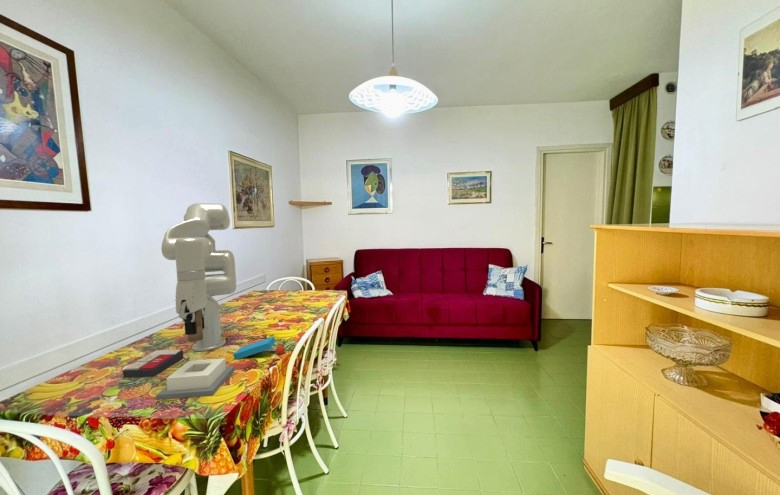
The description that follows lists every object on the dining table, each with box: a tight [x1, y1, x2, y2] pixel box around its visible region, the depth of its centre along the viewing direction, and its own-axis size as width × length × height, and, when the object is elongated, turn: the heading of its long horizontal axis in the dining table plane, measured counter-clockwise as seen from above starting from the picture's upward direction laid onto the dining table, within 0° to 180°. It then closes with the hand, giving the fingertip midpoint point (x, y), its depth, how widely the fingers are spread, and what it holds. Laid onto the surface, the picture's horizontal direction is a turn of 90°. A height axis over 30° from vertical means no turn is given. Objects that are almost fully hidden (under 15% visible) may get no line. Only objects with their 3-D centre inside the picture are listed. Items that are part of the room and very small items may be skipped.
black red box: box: [122, 349, 185, 379], centre depth 109 cm, size 11×4×15 cm
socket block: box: [155, 357, 235, 401], centre depth 95 cm, size 16×16×6 cm
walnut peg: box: [187, 309, 203, 343], centre depth 94 cm, size 4×4×10 cm
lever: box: [232, 336, 286, 361], centre depth 117 cm, size 7×7×18 cm
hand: (195, 331), depth 94 cm, fingers closed on walnut peg, 4 cm apart
